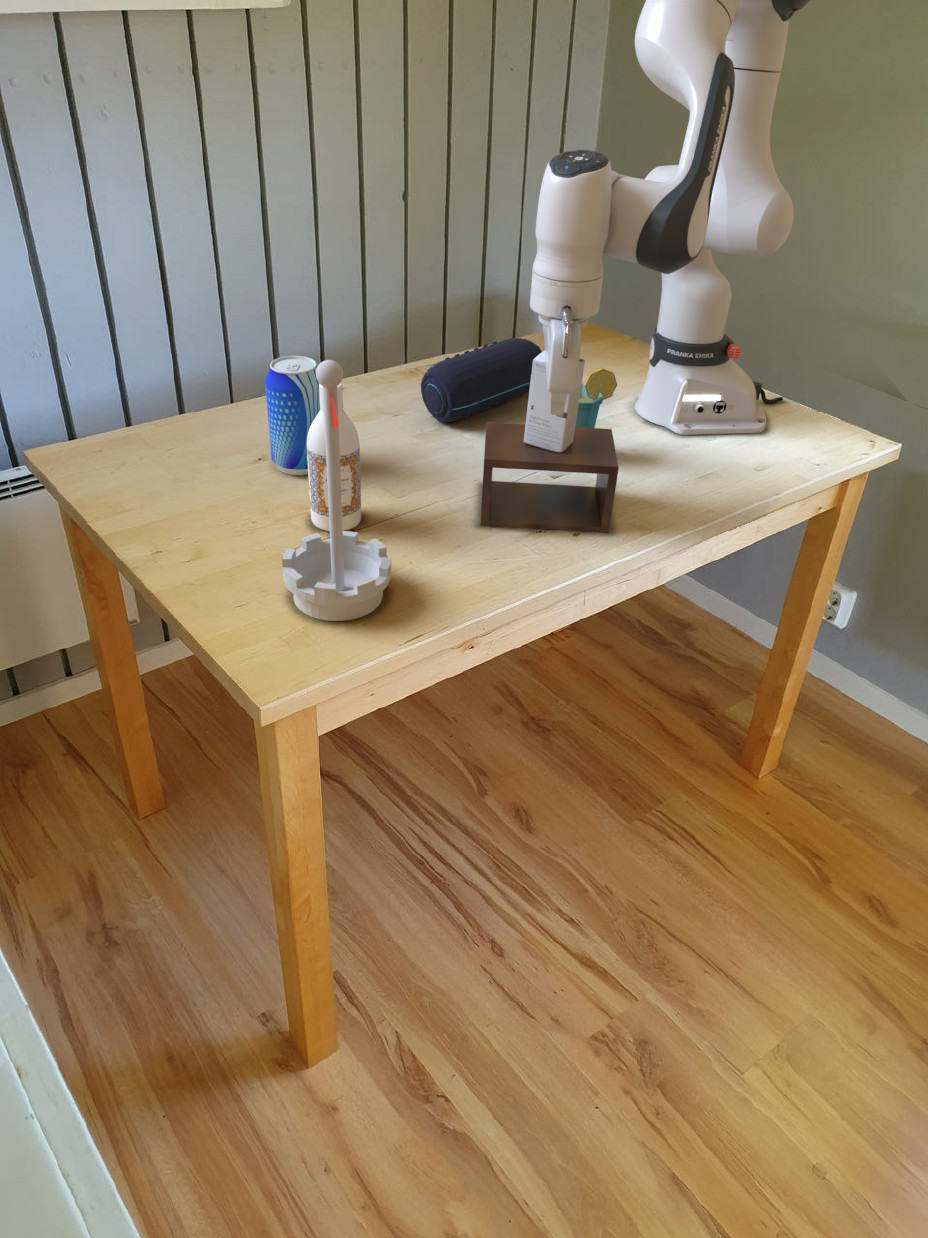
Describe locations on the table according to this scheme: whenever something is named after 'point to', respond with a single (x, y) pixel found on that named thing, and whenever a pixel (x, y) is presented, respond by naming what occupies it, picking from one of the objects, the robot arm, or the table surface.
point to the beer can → (291, 410)
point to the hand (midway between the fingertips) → (555, 398)
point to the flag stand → (335, 541)
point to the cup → (594, 396)
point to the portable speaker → (479, 379)
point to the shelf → (549, 501)
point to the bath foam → (347, 468)
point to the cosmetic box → (539, 420)
